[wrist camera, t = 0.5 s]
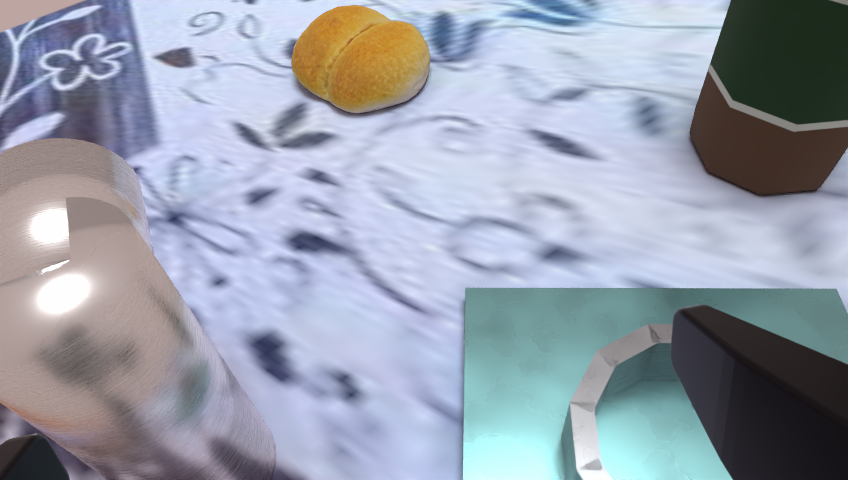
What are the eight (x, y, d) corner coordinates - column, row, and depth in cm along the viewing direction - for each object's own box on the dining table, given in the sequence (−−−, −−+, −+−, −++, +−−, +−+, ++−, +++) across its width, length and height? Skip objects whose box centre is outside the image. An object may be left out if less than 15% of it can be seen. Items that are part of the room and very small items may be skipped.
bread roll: (376, 135, 37) (366, 80, 34) (278, 84, 41) (261, 31, 38) (459, 67, 41) (457, 12, 38) (362, 26, 45) (353, -27, 42)
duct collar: (1031, 778, 17) (1151, 784, 14) (460, 739, 19) (455, 737, 16) (826, 301, 27) (869, 245, 24) (465, 300, 29) (463, 246, 26)
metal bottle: (290, 496, 24) (147, 308, 14) (160, 556, 23) (-101, 400, 13) (245, 343, 28) (112, 115, 18) (135, 387, 27) (-71, 172, 17)
